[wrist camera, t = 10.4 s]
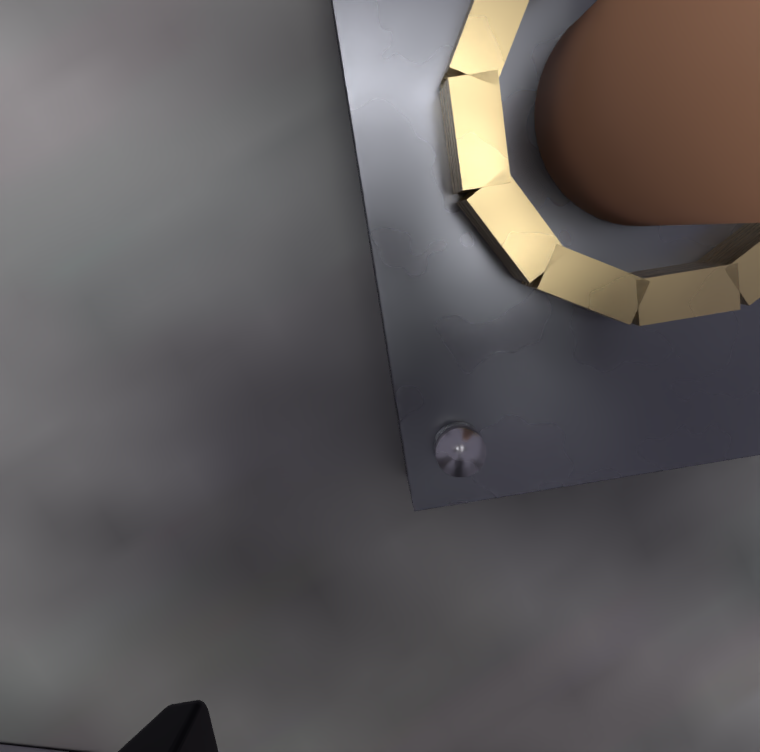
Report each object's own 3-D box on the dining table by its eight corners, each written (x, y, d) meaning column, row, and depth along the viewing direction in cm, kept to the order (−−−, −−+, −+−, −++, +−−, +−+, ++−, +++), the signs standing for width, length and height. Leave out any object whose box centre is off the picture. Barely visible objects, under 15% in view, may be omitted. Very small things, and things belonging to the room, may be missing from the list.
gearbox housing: (859, 402, 20) (984, 445, 16) (406, 476, 20) (419, 537, 16) (844, -451, 16) (1006, -677, 12) (273, -357, 16) (245, -554, 12)
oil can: (761, 207, 16) (1084, 186, 9) (547, 242, 16) (700, 248, 9) (744, -136, 15) (1114, -487, 8) (510, -98, 15) (656, -412, 8)
